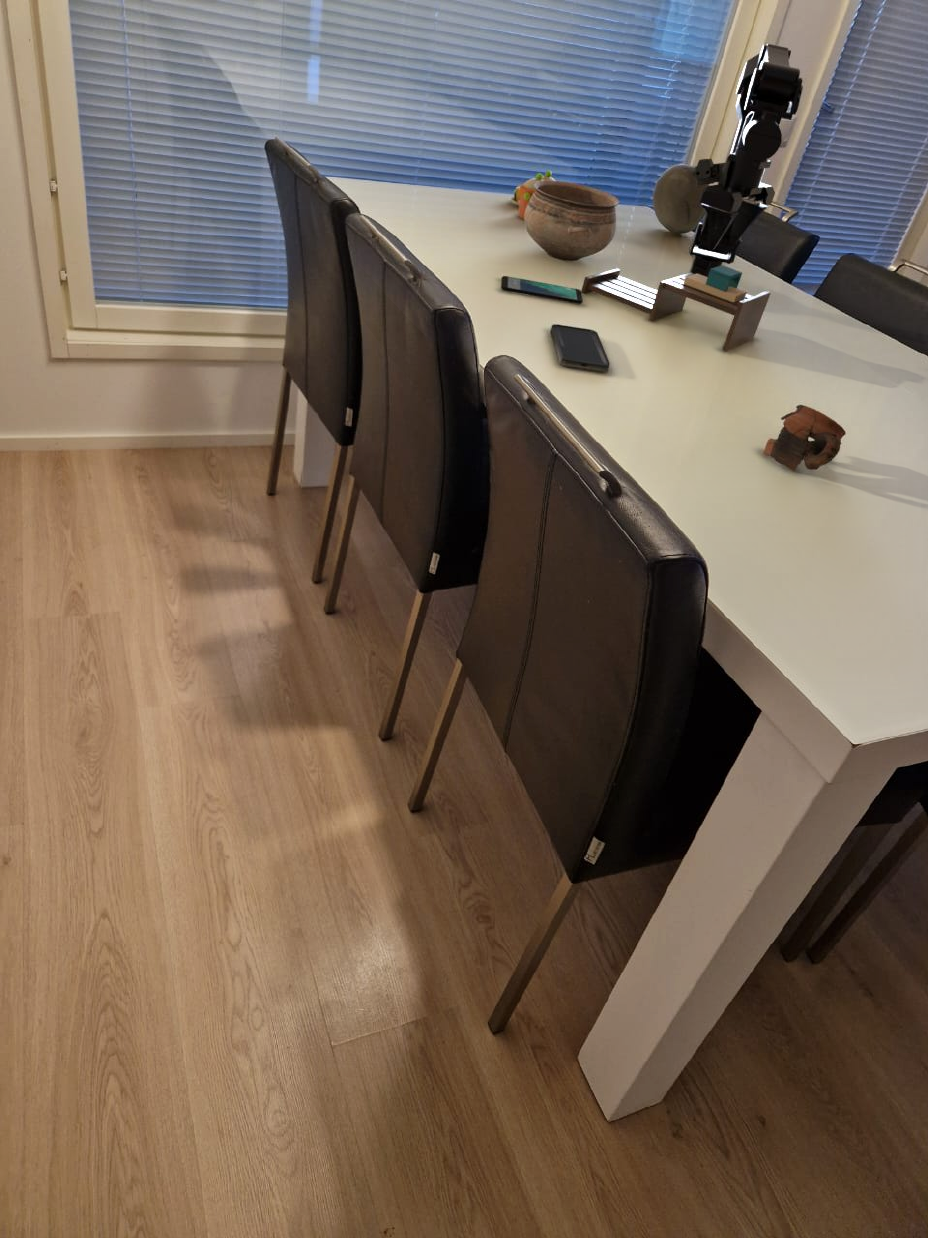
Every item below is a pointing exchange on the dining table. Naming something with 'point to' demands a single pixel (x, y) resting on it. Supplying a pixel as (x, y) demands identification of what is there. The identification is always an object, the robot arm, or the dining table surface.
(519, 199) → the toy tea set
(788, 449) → the pottery mug
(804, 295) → the dining table surface
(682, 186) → the cantaloupe
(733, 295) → the wall mail holder
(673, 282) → the shoe rack
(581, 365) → the phone
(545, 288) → the smartphone
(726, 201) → the robot arm
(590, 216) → the cooking pot
